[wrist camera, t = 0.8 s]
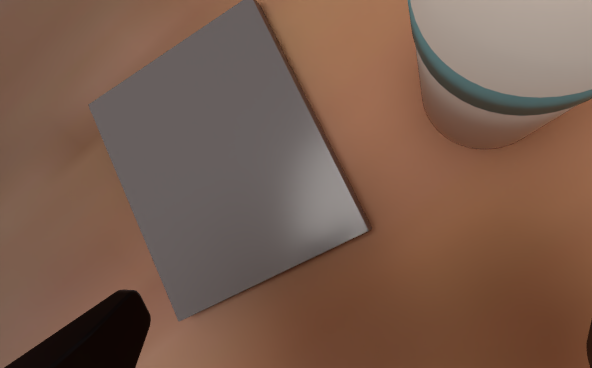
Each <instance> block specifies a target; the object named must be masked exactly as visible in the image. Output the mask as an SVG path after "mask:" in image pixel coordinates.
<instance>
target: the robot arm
mask: <svg viewBox="0 0 592 368" xmlns="http://www.w3.org/2000/svg"><path fill="white" fill-rule="evenodd" d="M150 322H151V318H150V314H149V311H148V310H147V308H146V306H145V304H144V302H143V300H142V298H141V296H140V294H139V293H138V292H137V291H135V290H119V291H117V292H115V293H114V294H112V295H111V296H109V297H108V298H106V299H105V300H103V301H102V302H100V303H99V304H97V305H96V306H94V307H93V308H92V309H90V310H89V311H87V312H86V313H84V314H83V315H81V316H80V317H78V318H77V319H75V320H74V321H72V322H71V323H69V324H68V325H66V326H65V327H64V328H62V329H61V330H59V331H58V332H56V333H55V334H53V335H52V336H50V337H49V338H47V339H46V340H44V341H43V342H41V343H40V344H39V345H37V346H36V347H34V348H33V349H31V350H30V351H28V352H27V353H25V354H24V355H22V356H21V357H19V358H18V359H16V360H15V361H13V362H12V363H11V364H9V365H8V366H6V367H5V368H135V367H136V364H137V361H138V358H139V355H140V353H141V350H142V347H143V344H144V341H145V338H146V335H147V332H148V330H149V327H150ZM587 356H588V360H589V365H590V368H592V320H591V325H590V329H589V334H588V338H587Z"/></svg>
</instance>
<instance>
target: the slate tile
mask: <svg viewBox="0 0 592 368" xmlns="http://www.w3.org/2000/svg"><path fill="white" fill-rule="evenodd" d="M89 108H90V110H91V113H92V115H93V117H94V120H95V122H96V125H97V127H98V129H99V132H100V134H101V137H102V139H103V141H104V144H105V146H106V149H107V151H108V153H109V156H110V158H111V161H112V163H113V165H114V168H115V170H116V172H117V175H118V177H119V180H120V182H121V184H122V187H123V189H124V192H125V194H126V196H127V199H128V201H129V204H130V206H131V208H132V211H133V213H134V216H135V218H136V220H137V223H138V225H139V228H140V230H141V232H142V235H143V237H144V240H145V242H146V244H147V247H148V249H149V251H150V254H151V256H152V259H153V261H154V263H155V266H156V268H157V271H158V273H159V275H160V278H161V280H162V283H163V285H164V287H165V290H166V292H167V295H168V297H169V299H170V302H171V304H172V307H173V309H174V311H175V314H176V316H177V319H178V321H181V320H183V319H185V318H187V317H190V316H192V315H194V314H196V313H198V312H200V311H202V310H204V309H206V308H208V307H210V306H213V305H215V304H217V303H219V302H221V301H223V300H225V299H227V298H229V297H231V296H233V295H236V294H238V293H240V292H242V291H244V290H246V289H248V288H250V287H252V286H254V285H256V284H259V283H261V282H263V281H265V280H267V279H269V278H271V277H273V276H275V275H277V274H279V273H281V272H284V271H286V270H288V269H290V268H292V267H294V266H296V265H298V264H300V263H302V262H304V261H307V260H309V259H311V258H313V257H315V256H317V255H319V254H321V253H323V252H325V251H327V250H330V249H332V248H334V247H336V246H338V245H340V244H342V243H344V242H346V241H348V240H350V239H353V238H355V237H357V236H359V235H361V234H363V233H365V232H367V231H369V230H371V229H372V227H371V225H370V223H369V221H368V219H367V217H366V215H365V213H364V211H363V209H362V207H361V205H360V203H359V201H358V199H357V197H356V195H355V193H354V191H353V190H352V188H351V186H350V184H349V182H348V180H347V178H346V176H345V174H344V172H343V170H342V168H341V166H340V164H339V162H338V160H337V158H336V156H335V154H334V152H333V150H332V148H331V146H330V144H329V142H328V140H327V138H326V136H325V134H324V132H323V130H322V128H321V126H320V124H319V122H318V120H317V118H316V116H315V114H314V112H313V110H312V108H311V106H310V104H309V102H308V100H307V98H306V96H305V94H304V92H303V90H302V88H301V86H300V84H299V82H298V80H297V78H296V76H295V74H294V72H293V70H292V68H291V66H290V64H289V62H288V60H287V58H286V56H285V54H284V52H283V50H282V48H281V46H280V44H279V42H278V40H277V38H276V36H275V34H274V32H273V30H272V28H271V26H270V24H269V22H268V20H267V18H266V16H265V14H264V13H263V11H262V9H261V7H260V5H259V3H258V2H257V1H256V0H243V1H241V2H240V3H238V4H237V5H235V6H234V7H232V8H231V9H229V10H228V11H226V12H225V13H223V14H222V15H220V16H219V17H217V18H216V19H214V20H213V21H211V22H210V23H209V24H207V25H206V26H204V27H203V28H201V29H200V30H198V31H197V32H195V33H194V34H192V35H191V36H189V37H188V38H186V39H185V40H183V41H182V42H180V43H179V44H177V45H176V46H175V47H173V48H172V49H170V50H169V51H167V52H166V53H164V54H163V55H161V56H160V57H158V58H157V59H155V60H154V61H152V62H151V63H149V64H148V65H146V66H145V67H143V68H142V69H141V70H139V71H138V72H136V73H135V74H133V75H132V76H130V77H129V78H127V79H126V80H124V81H123V82H121V83H120V84H118V85H117V86H115V87H114V88H112V89H111V90H109V91H108V92H107V93H105V94H104V95H102V96H101V97H99V98H98V99H96V100H95V101H93V102H92V103H90V104H89Z"/></svg>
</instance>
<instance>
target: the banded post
mask: <svg viewBox="0 0 592 368" xmlns="http://www.w3.org/2000/svg"><path fill="white" fill-rule="evenodd" d="M408 6H409V13H410V20H411V27H412V34H413V38H414V42H415V45H416V53H417V61H418V69H419V77H420V86H421V94H422V101H423V105H424V109H425V112H426V114H427V116H428V118H429V120H430V121H431V123H432V124H433V125H434V127H435V128H436V129H437V130H438V131H439V132H440V133H441V134H442V135H443V136H445V137H446V138H448V139H449V140H451V141H453V142H455V143H457V144H460V145H462V146H465V147H470V148H475V149H493V148H500V147H504V146H507V145H510V144H512V143H515V142H517V141H519V140H521V139H522V138H524V137H526V136H528V135H529V134H531V133H532V132H534V131H536V130H537V129H539V128H541V127H542V126H544V125H546V124H547V123H549V122H550V121H552V120H554V119H555V118H557V117H559V116H560V115H562V114H564V113H565V112H567V111H568V110H570V109H572V108H573V107H575V106H577V105H578V104H581V103H583V102H585V101H588V100H590V99H591V98H592V0H408Z"/></svg>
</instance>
